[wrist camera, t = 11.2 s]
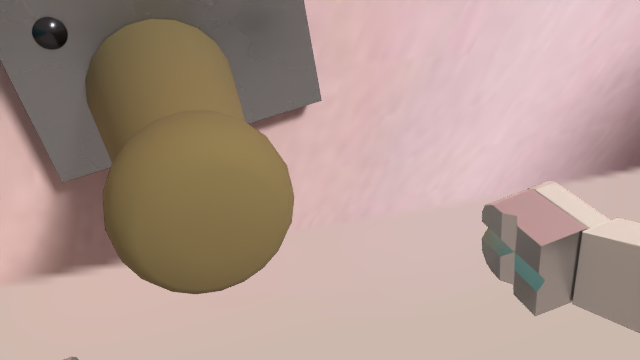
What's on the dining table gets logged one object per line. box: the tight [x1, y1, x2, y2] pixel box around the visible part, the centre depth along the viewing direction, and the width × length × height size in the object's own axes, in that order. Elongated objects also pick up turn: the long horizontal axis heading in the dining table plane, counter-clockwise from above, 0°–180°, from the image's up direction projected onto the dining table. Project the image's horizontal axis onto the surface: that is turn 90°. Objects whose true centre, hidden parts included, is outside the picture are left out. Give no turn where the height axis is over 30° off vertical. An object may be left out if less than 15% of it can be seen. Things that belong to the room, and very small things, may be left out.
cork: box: [85, 19, 294, 294], centre depth 18 cm, size 6×6×11 cm
